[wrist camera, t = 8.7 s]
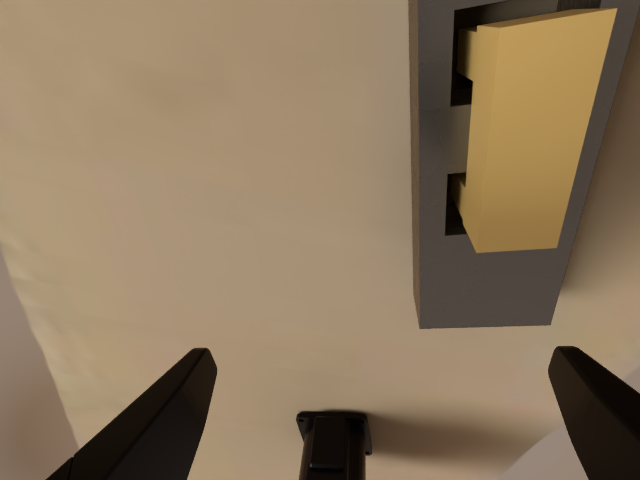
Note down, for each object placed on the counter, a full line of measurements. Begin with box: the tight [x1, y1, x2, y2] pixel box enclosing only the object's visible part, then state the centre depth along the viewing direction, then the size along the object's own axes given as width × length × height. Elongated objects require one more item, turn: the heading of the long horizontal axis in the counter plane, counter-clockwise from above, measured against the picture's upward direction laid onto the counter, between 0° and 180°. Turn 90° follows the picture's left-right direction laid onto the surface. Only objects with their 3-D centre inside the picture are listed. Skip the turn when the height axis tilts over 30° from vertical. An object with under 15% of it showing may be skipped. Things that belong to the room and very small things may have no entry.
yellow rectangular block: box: [451, 8, 617, 253], centre depth 14 cm, size 8×3×5 cm, turn 9°
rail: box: [408, 0, 640, 329], centre depth 15 cm, size 22×7×3 cm, turn 9°
